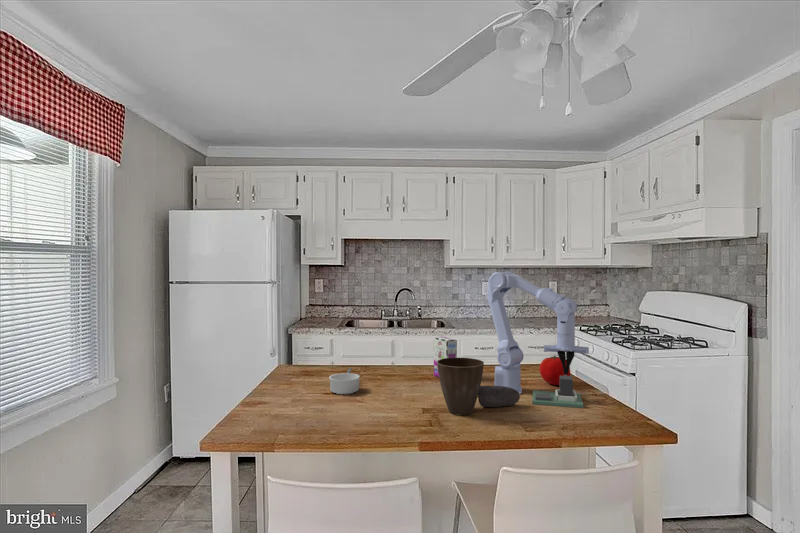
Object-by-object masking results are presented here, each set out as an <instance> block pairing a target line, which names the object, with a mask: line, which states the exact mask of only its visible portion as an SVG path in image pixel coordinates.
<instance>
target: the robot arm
mask: <svg viewBox="0 0 800 533" xmlns="http://www.w3.org/2000/svg"><path fill="white" fill-rule="evenodd" d="M487 284H488V286H487V287H488V288H487V293H486V297H487V302H488V305H489V309H490V314H491V318H492V320H493V321H492V322H493V325H494V328H495V331H496V336H497V338H498V339H497V340H498V345H497V348H496V349H497V350H496V351H497V357H496V359H497V362H498V364H499V365H495V366H494V382H493V384H494V385H493V386H505V387H509V388H513V389H515V390H516V391H518V392H519V394H522V391H523V387H522V386H521V385H522V384H521V383H522V382H521V379H522V378H521V367H522V366H521V362H523V360H524V351H522V349H521V348H520V345H519V343H518V342H517V341H516V340H515V338H514V335H513V331H512V328H511V324H510V321H509V318H508V313H507V311H506V307H505V303H504V299H503V298H504V297H505V295H506V294H507V292H508V291H509V290H510V289H512V288H517V289H519V290H522V291H524V292H525V293H528V294H530V295H532V296H534V297H536V300H537V302H538V303H540V304H542V305H544V306H545V307H547V308H549V309H551V310H552V311H554V312H555V314H556V318H557V319H556V325H557V326H556V330H557V331H556V344H555V345H553V344H551V345H543V352H545V353H547V352H551V353H557V357H559V358H560V360H561V363H562V366H563V370H564V374H568V372H569V367H570V368H571V364H572V361H573V359H574V357H575V354H586V355H588V354H589V353H590V348H589V347H588V346H581V345H580V346H579V345H575V343H576V341H575V340H576V339H575V338H576V337H575V335H576V333H575V332H576V331H575V330H576V329H575V327H576V323H575V321H576V320H575V316H576V315H575V313H576V312H577V309H578V305H577V302H576V301H575V300H574V299H573V298H572V297H566V298H565V296H566V295H564V294H560V293H558V292H555V291H554V289H553V288H552V287H548V288H547V287H543V288H540V287H539V286H537V285H535V284H533V283H532V282H530V281H529V280H527V279H525V278H523V277H522V276H520V275H519V274H516V273H513V272H512V271H509V270H508V271H500V272H499V271H495V272H493V273H491V275H490V277H489V278H488V280H487Z"/></svg>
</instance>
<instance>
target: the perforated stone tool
mask: <svg viewBox="0 0 800 533" xmlns="http://www.w3.org/2000/svg"><path fill="white" fill-rule="evenodd" d="M520 396H521V395H520V394H519V392H518V391H516V390H515V389H513V388H509V387H505V386H494V385H480V389H479V393H478V397H477V400H478V404H479V406H480V407H485V408H500V407H509V406H514V405H515V404H517V403H518V402H519V401H520V398H521V397H520Z"/></svg>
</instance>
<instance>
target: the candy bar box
mask: <svg viewBox="0 0 800 533" xmlns="http://www.w3.org/2000/svg"><path fill="white" fill-rule="evenodd" d="M457 344H458V340H457V339H454V338H450V337H446V336H433V376H434V377H436V378H439V374H438V367H437V361H438V360H440V359H445V358H458V356H457V355H458V354H457V353H458V352H457V351H458V350H457V349H458V348H457V347H458V345H457Z"/></svg>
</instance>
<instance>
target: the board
mask: <svg viewBox="0 0 800 533" xmlns="http://www.w3.org/2000/svg"><path fill="white" fill-rule="evenodd" d="M531 401H532V405H537V406H549V407H550V406H551V407H552V406H553V407H562V408H563V407H567V408H577V409H578V408H579V409H583V408H584V403H583V399H582V395H581V393H579V392H576V390H575V389H573V396H560V388H558V389H556V388H555V391H550V390H548V391H547V390H535V389H534V390H532V400H531Z"/></svg>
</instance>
